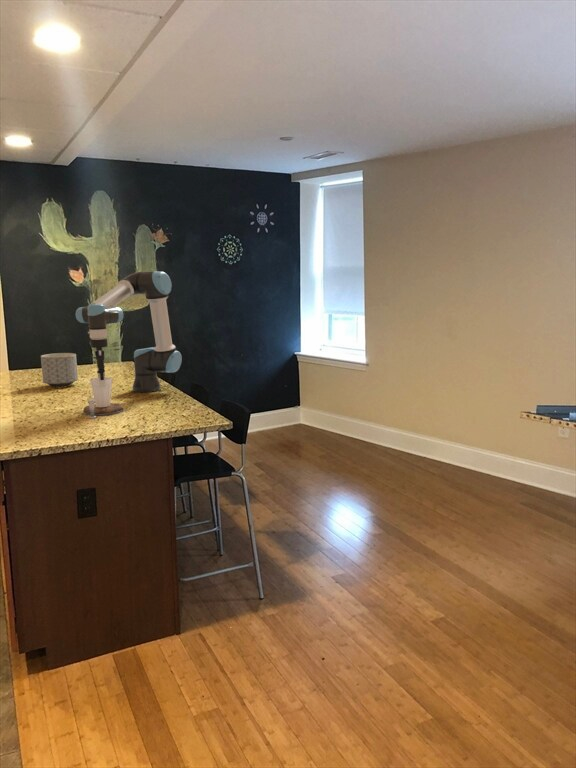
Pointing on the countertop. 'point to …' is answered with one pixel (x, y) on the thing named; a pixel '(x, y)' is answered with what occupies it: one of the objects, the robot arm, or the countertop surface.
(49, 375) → the planter
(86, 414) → the base
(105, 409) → the brown and teal disc
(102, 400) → the cup
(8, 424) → the countertop surface
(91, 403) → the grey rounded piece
